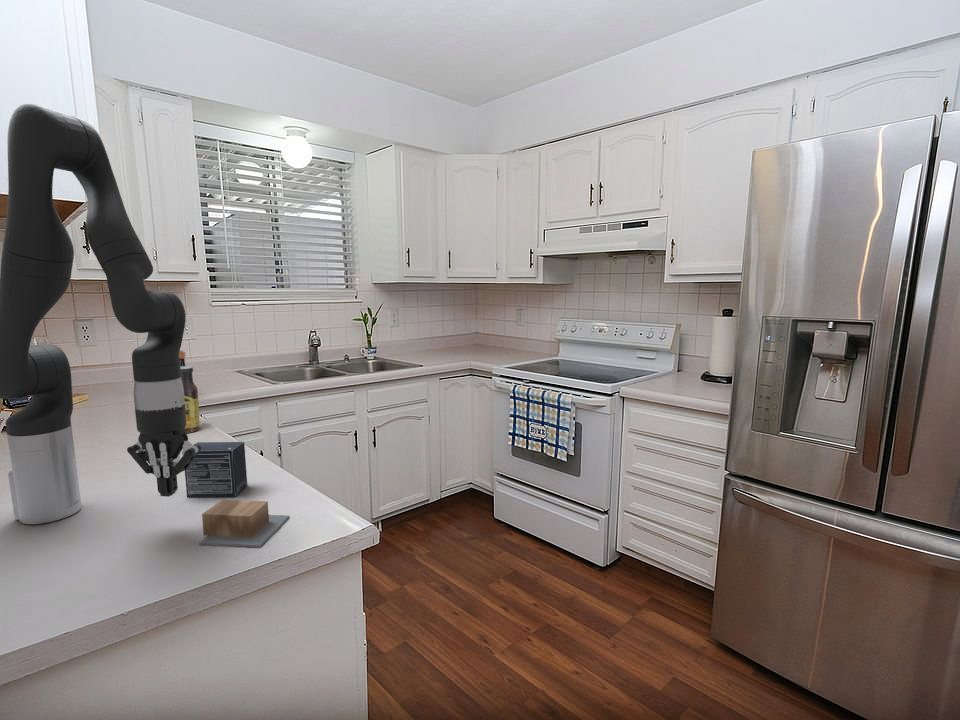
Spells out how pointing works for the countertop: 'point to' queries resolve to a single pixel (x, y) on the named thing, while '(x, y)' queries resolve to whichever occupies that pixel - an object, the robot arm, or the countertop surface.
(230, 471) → the small box
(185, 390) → the sauce bottle
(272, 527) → the mat
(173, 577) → the countertop surface
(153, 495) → the countertop surface
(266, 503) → the walnut block
